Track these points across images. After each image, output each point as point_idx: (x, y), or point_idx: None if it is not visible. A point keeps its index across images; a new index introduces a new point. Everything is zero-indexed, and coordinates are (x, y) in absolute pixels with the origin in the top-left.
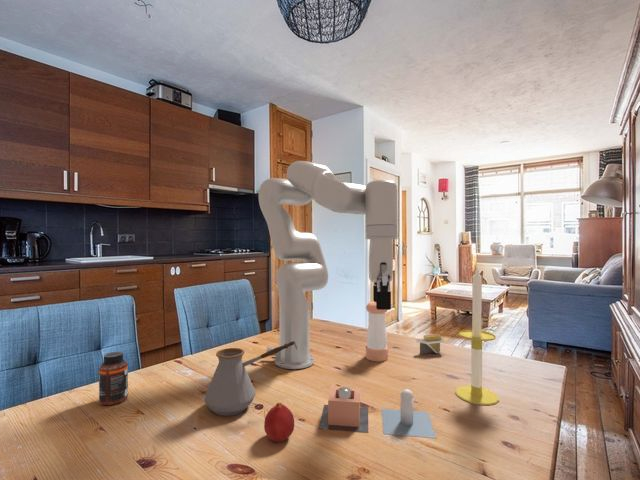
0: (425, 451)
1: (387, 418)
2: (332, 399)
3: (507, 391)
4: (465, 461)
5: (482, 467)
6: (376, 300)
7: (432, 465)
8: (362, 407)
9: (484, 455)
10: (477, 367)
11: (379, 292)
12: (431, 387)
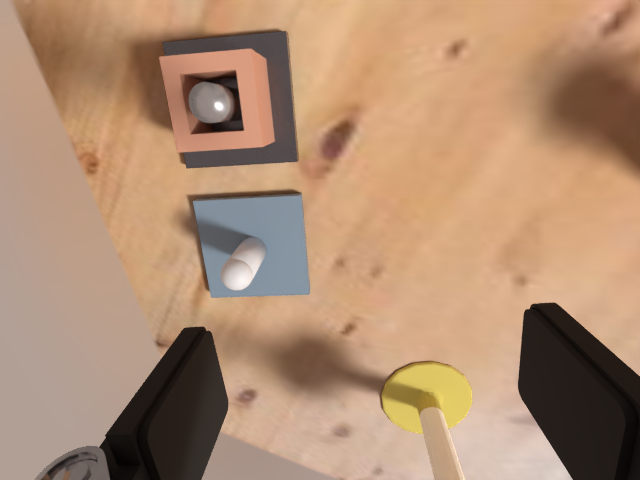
0: (183, 271)
1: (257, 209)
2: (168, 69)
3: None
4: (178, 326)
5: None
6: (156, 367)
7: (148, 277)
8: (295, 146)
9: None
10: (430, 457)
11: (120, 453)
12: (462, 317)
